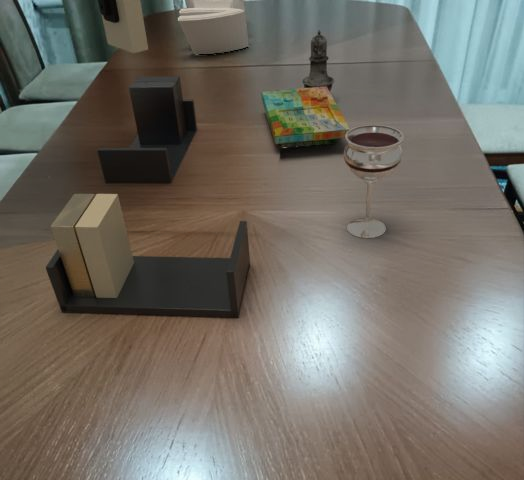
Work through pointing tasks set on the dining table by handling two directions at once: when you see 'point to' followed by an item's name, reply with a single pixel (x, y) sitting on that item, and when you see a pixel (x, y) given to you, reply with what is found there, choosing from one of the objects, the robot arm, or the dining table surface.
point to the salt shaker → (318, 64)
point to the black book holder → (137, 268)
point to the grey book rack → (153, 134)
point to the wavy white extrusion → (214, 25)
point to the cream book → (127, 27)
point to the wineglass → (371, 167)
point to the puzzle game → (304, 117)
